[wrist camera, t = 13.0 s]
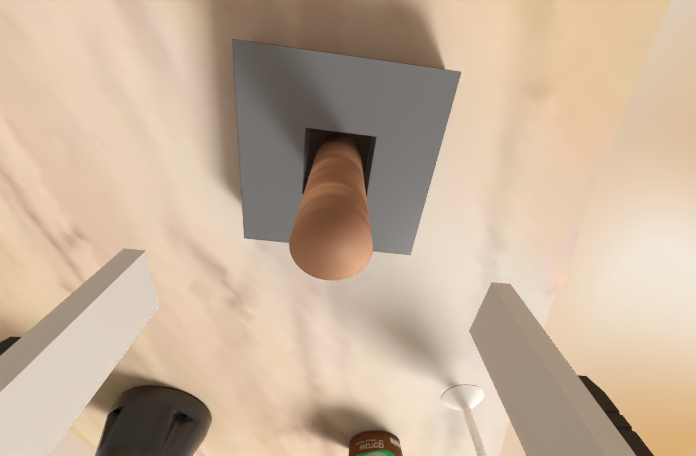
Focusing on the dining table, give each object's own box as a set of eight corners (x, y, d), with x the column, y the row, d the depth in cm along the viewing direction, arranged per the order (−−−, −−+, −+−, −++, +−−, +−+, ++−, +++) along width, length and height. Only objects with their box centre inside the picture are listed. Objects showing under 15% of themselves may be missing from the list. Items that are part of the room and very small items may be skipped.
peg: (316, 170, 29) (288, 276, 15) (319, 128, 27) (290, 206, 13) (356, 175, 29) (365, 283, 16) (362, 134, 27) (379, 215, 14)
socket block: (255, 218, 32) (244, 238, 28) (249, 41, 24) (232, 39, 20) (403, 233, 33) (410, 255, 29) (445, 69, 25) (461, 71, 21)
